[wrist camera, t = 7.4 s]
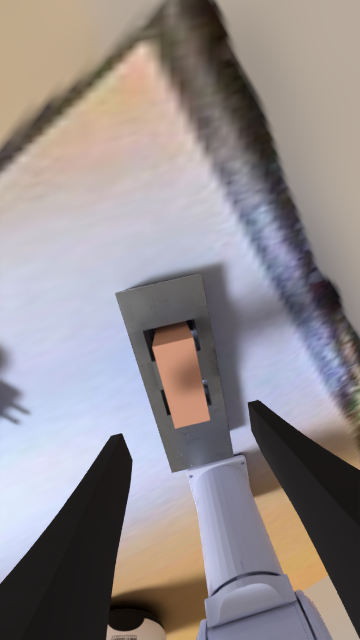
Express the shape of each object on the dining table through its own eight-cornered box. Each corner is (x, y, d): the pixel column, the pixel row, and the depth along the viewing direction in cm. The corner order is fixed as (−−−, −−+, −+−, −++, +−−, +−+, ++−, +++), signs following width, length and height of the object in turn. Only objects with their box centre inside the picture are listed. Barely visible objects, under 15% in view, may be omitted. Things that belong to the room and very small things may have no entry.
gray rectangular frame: (224, 433, 22) (233, 457, 19) (171, 446, 21) (172, 472, 19) (195, 274, 16) (201, 273, 13) (124, 290, 16) (115, 293, 13)
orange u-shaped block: (198, 380, 19) (210, 420, 14) (172, 386, 19) (175, 428, 14) (185, 318, 17) (193, 337, 12) (156, 325, 17) (152, 347, 12)
